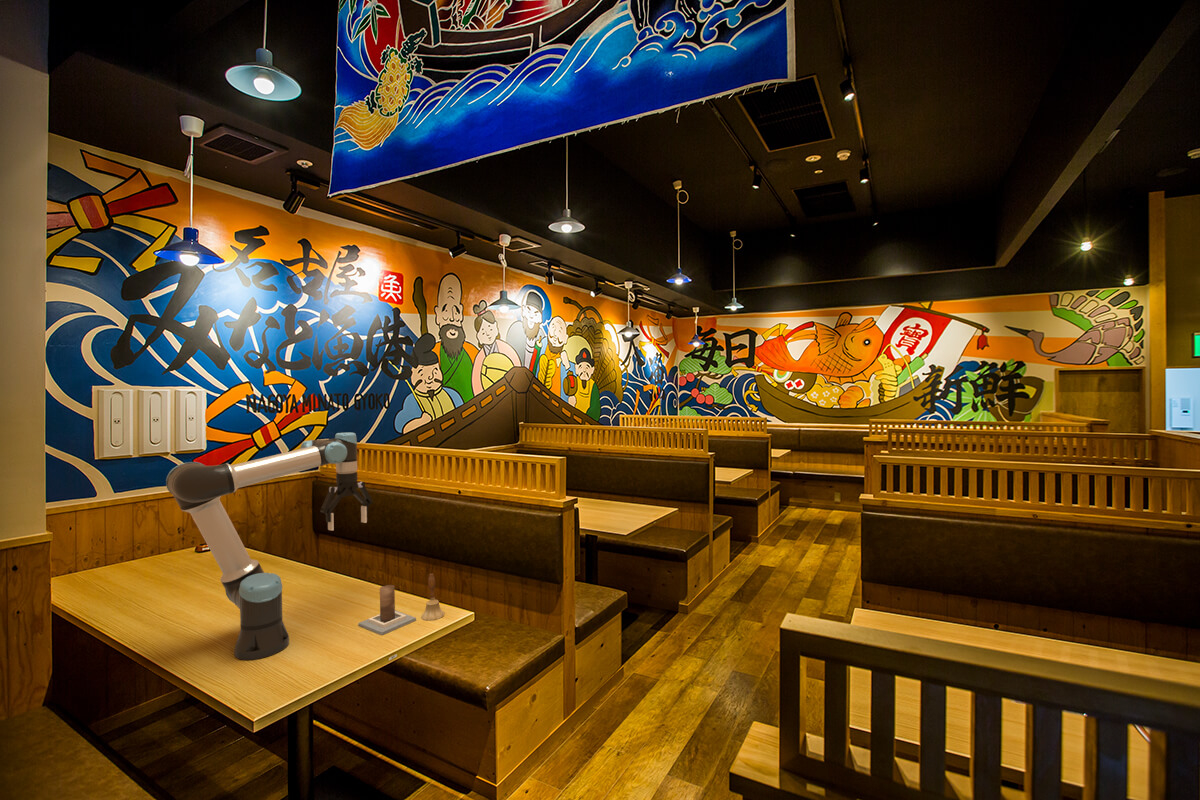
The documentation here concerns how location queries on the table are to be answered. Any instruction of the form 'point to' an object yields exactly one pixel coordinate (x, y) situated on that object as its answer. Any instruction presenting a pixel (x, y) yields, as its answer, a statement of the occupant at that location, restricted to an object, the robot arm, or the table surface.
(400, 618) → the board
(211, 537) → the robot arm
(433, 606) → the hand bell
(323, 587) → the table surface
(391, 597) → the walnut pin
